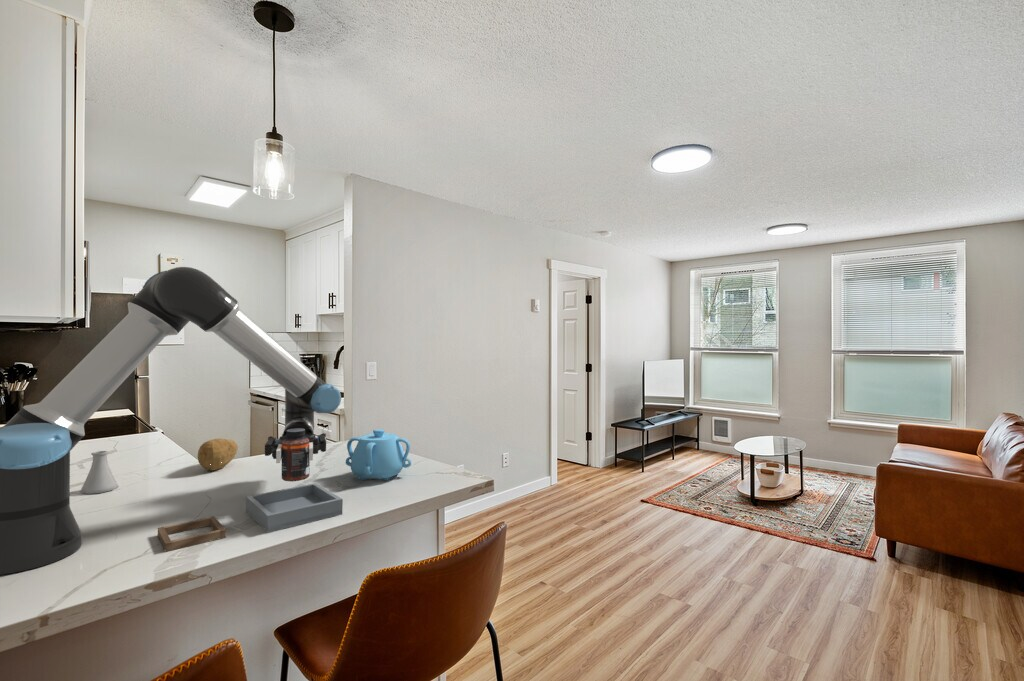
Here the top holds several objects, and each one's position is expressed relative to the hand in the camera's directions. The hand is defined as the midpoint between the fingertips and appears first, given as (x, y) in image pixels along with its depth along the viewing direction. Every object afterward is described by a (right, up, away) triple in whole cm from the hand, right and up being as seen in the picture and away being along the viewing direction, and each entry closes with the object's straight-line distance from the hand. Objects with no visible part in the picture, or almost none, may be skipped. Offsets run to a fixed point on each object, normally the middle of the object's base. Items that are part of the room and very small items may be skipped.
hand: (294, 455), depth 107 cm
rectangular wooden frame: (-17, -14, -9) cm, 24 cm away
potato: (-42, -14, +41) cm, 61 cm away
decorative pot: (+9, -15, +35) cm, 39 cm away
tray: (-2, -14, +5) cm, 15 cm away
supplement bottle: (-2, -7, +5) cm, 8 cm away
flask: (-59, -14, +19) cm, 63 cm away
